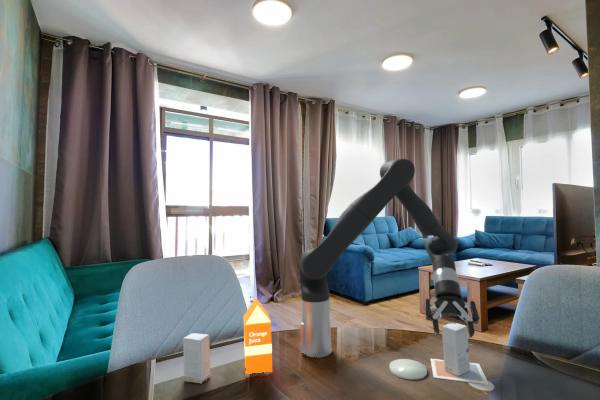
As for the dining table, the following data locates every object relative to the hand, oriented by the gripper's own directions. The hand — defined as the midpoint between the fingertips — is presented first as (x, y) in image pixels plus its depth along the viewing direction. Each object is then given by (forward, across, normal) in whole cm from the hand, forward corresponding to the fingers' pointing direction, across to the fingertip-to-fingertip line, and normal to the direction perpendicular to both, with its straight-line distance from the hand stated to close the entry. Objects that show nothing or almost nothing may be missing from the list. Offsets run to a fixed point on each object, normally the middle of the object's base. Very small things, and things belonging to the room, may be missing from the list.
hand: (454, 335), depth 88 cm
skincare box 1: (+24, -69, -11) cm, 74 cm away
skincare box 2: (+8, 0, +5) cm, 9 cm away
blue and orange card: (+8, 0, +5) cm, 9 cm away
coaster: (+10, -13, +3) cm, 17 cm away
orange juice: (+17, -55, -4) cm, 58 cm away
